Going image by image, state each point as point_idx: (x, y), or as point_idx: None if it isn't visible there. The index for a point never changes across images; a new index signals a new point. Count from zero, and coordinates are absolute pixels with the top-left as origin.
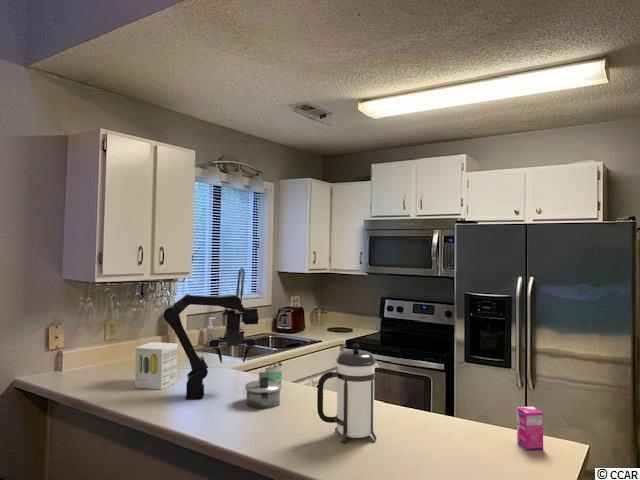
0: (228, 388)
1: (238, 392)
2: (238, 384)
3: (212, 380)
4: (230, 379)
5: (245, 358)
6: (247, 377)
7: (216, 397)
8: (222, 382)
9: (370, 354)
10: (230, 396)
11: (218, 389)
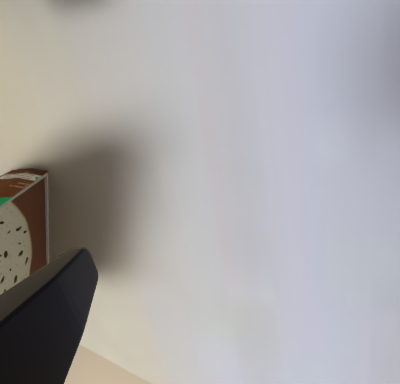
0: (291, 224)
1: (215, 141)
2: (236, 287)
3: (390, 357)
4: (288, 360)
5: (11, 287)
6: (204, 375)
7: (380, 12)
8: (332, 324)
9: None
10: (263, 43)
11: (358, 209)
